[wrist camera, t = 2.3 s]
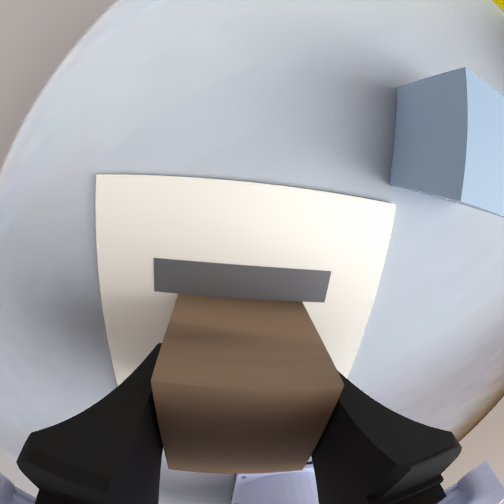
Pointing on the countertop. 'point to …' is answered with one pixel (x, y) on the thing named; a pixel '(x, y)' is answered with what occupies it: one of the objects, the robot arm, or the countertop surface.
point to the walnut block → (242, 386)
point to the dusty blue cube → (451, 140)
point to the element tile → (500, 3)
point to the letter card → (234, 255)
